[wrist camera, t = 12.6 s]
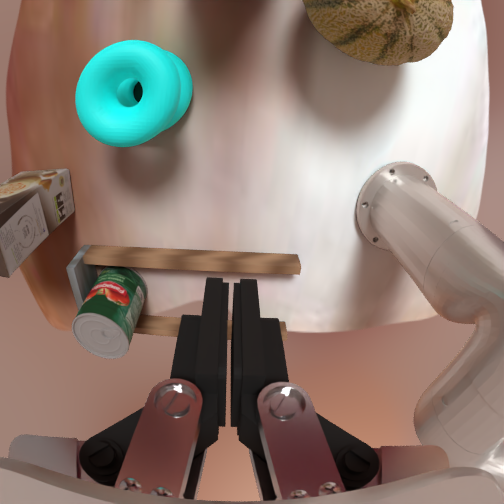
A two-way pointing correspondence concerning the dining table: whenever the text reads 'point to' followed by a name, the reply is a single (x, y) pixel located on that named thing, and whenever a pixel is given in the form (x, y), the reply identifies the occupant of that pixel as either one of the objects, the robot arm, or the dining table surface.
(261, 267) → the bay
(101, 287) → the canned tomato
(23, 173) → the coffee box
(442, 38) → the cantaloupe
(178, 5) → the dining table surface
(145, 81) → the donuts
